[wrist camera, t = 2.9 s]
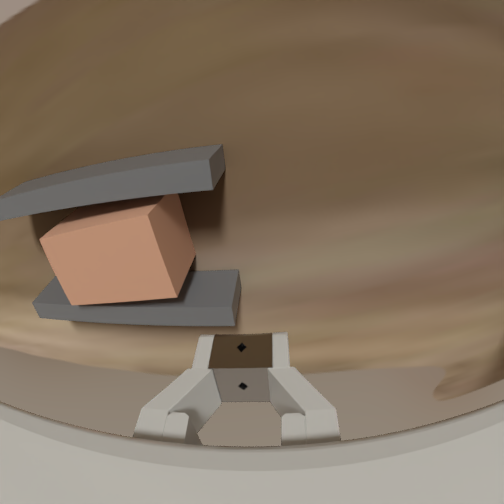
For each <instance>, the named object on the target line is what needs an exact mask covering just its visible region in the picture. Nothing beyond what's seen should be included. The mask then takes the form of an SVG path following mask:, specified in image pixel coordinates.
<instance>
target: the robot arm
mask: <svg viewBox="0 0 504 504" xmlns="http://www.w3.org/2000/svg"><path fill="white" fill-rule="evenodd" d="M221 402H271V404H272V405H273V407H274V408H275V409H276V411H277V412H278V413H279V415H280V416H281V419H282V421H281V422H282V423H281V425H282V426H281V433H282V434H281V436H282V437H281V446H271V447H270V446H267V447H231V446H230V447H229V446H207V445H206V446H205V445H202V443H201V441H200V439H199V437H198V435H197V433H198V432H199V431H200V429H201V428H202V427H203V425H204V424H205V423H206V422H207V421H208V420H209V418H210V417H211V416H212V415H213V414H214V412H215V411H216V410H217V409H218V408H219V406H220V405H221V404H222V403H221ZM0 504H504V400H502V401H499V402H497V403H494V404H492V405H489V406H486V407H483V408H480V409H477V410H475V411H472V412H469V413H466V414H462V415H459V416H456V417H453V418H449V419H446V420H442V421H439V422H435V423H432V424H428V425H424V426H420V427H416V428H412V429H407V430H402V431H398V432H393V433H388V434H383V435H378V436H372V437H366V438H359V439H352V440H345V441H341V438H340V431H339V425H338V418H337V411H336V408H335V407H334V406H333V405H332V404H331V403H330V402H329V401H328V400H327V399H326V398H325V397H324V396H323V395H322V394H321V393H320V392H319V391H318V390H317V389H316V388H315V387H314V386H313V385H312V384H310V382H308V380H307V379H306V378H305V377H304V376H303V375H302V374H301V373H300V372H299V371H298V370H297V369H296V368H295V367H290V360H289V345H288V333H287V332H277V333H273V334H272V333H262V334H238V335H218V334H215V335H201V336H200V337H199V340H198V344H197V348H196V352H195V356H194V360H193V365H192V369H187V370H185V371H184V372H183V373H182V374H181V375H180V376H179V377H177V378H176V379H175V380H174V381H173V382H172V383H171V384H169V385H168V386H167V387H166V388H165V389H164V390H162V391H161V392H160V393H159V394H158V395H157V396H155V397H154V398H153V399H152V400H151V401H149V402H148V403H147V404H146V405H145V406H144V407H142V409H141V412H140V415H139V418H138V422H137V425H136V428H135V431H134V434H133V437H127V436H122V435H116V434H111V433H106V432H101V431H96V430H92V429H88V428H83V427H79V426H75V425H71V424H68V423H64V422H60V421H56V420H53V419H50V418H46V417H43V416H40V415H36V414H34V413H31V412H28V411H25V410H22V409H19V408H16V407H13V406H11V405H8V404H6V403H3V402H0Z"/></svg>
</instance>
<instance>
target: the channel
mask: <svg viewBox="0 0 504 504" xmlns="http://www.w3.org/2000/svg"><path fill="white" fill-rule="evenodd" d="M224 170H225V161H224V153H223V145H222V144H221V145H212V146H203V147H195V148H188V149H180V150H173V151H166V152H160V153H154V154H148V155H142V156H136V157H130V158H125V159H120V160H114V161H109V162H105V163H100V164H95V165H90V166H86V167H81V168H77V169H73V170H69V171H65V172H61V173H57V174H53V175H49V176H45V177H41V178H38V179H34V180H30V181H27V182H24V183H22V184H21V185H19V186H17V187H15V188H14V189H12V190H10V191H8V192H7V193H5V194H3V195H2V196H0V221H1V220H6V219H11V218H16V217H21V216H26V215H31V214H37V213H42V212H48V211H54V210H59V209H65V208H71V207H78V206H84V205H90V204H97V203H104V202H111V201H118V200H126V199H133V198H141V197H149V196H158V195H167V194H176V193H185V192H195V191H206V190H213V189H214V187H215V186H216V184H217V182H218V181H219V179H220V177H221V176H222V174H223V172H224ZM240 292H241V282H240V275H239V270H218V271H192V272H188V273H187V275H186V278H185V280H184V283H183V285H182V287H181V290H180V292H179V294H178V297H176V298H165V299H154V300H142V301H129V302H116V303H102V304H87V305H71V303H70V301H69V300H68V298H67V296H66V294H65V292H64V290H63V288H62V286H61V284H60V282H59V280H58V278H57V276H55V277H54V279H53V280H52V281H51V282H50V283H49V284H48V285H47V286H46V287H45V289H44V290H43V291H42V292H41V293H40V294H39V295H38V297H37V298H36V299H35V300H34V301H33V302H32V303H33V305H34V307H35V309H36V311H37V313H38V315H39V317H40V318H47V319H57V320H69V321H82V322H96V323H113V324H134V325H164V326H235V322H236V316H237V310H238V304H239V298H240Z"/></svg>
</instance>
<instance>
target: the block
mask: <svg viewBox="0 0 504 504" xmlns="http://www.w3.org/2000/svg"><path fill="white" fill-rule="evenodd" d="M39 240H40V242H41V245H42V247H43V249H44V251H45V253H46V256H47V258H48V260H49V262H50V264H51V266H52V268H53V270H54V272H55V274H56V276H57V278H58V280H59V282H60V284H61V286H62V288H63V290H64V292H65V294H66V296H67V298H68V300H69V301H70V303H71V305H87V304H102V303H116V302H129V301H142V300H154V299H165V298H176V297H178V294H179V292H180V290H181V287H182V285H183V283H184V280H185V278H186V275H187V273H188V271H189V269H190V266H191V264H192V262H193V259H194V257H195V255H196V253H195V249H194V246H193V243H192V239H191V236H190V233H189V229H188V226H187V223H186V219H185V216H184V212H183V209H182V205H181V202H180V198H179V195H178V193H176V194H167V195H158V196H149V197H141V198H133V199H126V200H118V201H111V202H104V203H97V204H92V205H88V206H84V207H81V208H77V209H76V210H75V211H74V212H72V213H71V214H70V215H68V216H67V217H66V218H65V219H63V220H62V221H61V222H60V223H58V224H57V225H56V226H55V227H53V228H52V229H51V230H50V231H49V232H47V233H46V234H45V235H44V236H43V237H41V238H40V239H39Z"/></svg>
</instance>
